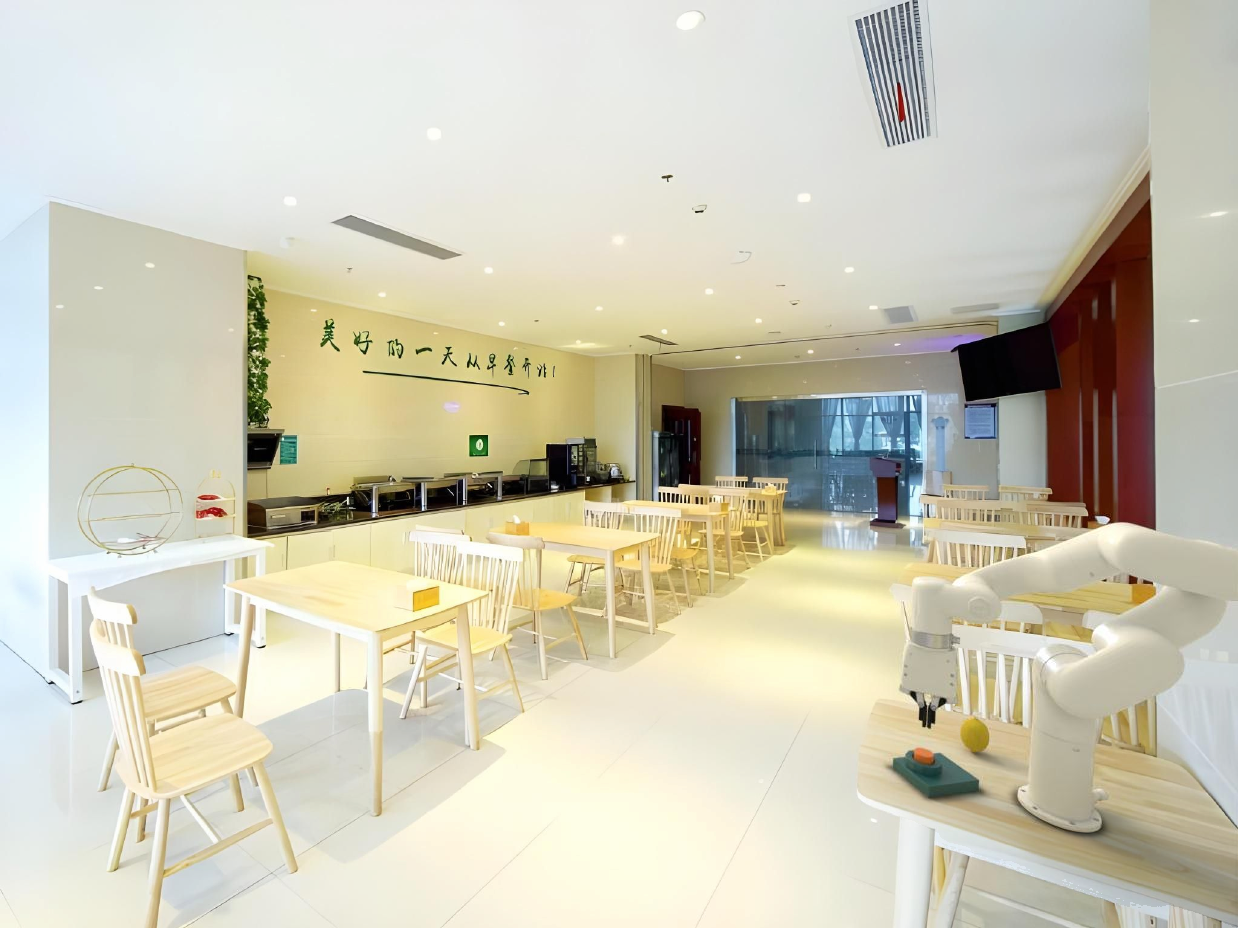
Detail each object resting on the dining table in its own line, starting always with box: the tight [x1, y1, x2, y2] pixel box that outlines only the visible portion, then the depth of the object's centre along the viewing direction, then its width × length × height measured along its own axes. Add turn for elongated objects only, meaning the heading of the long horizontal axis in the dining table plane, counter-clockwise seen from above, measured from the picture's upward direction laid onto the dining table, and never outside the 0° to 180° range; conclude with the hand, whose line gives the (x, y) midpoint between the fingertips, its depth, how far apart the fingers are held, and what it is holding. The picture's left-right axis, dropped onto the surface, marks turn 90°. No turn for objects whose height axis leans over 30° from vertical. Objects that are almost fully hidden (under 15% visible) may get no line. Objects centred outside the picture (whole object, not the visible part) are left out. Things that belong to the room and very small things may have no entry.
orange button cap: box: [913, 747, 934, 765], centre depth 116 cm, size 4×4×2 cm
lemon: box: [959, 717, 990, 754], centre depth 126 cm, size 6×6×8 cm
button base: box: [892, 749, 980, 798], centre depth 115 cm, size 12×10×4 cm
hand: (926, 725), depth 115 cm, fingers closed
